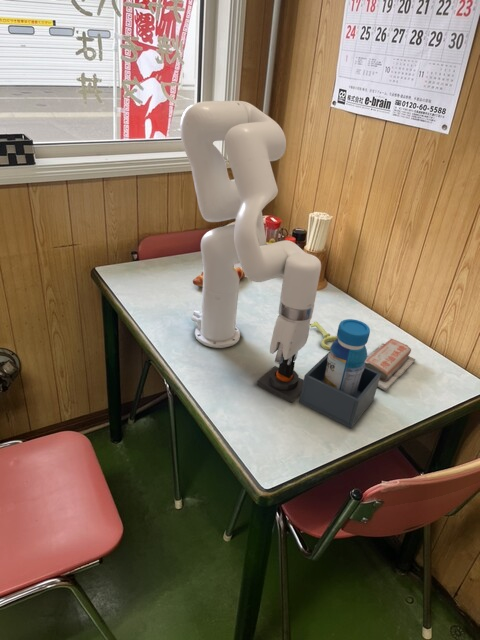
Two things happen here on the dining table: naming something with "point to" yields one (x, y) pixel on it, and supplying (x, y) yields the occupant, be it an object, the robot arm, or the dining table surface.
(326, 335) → the key
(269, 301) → the dining table surface
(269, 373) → the box
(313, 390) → the blue box
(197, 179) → the robot arm
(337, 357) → the beverage bottle
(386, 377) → the packaged product
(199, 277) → the croissant
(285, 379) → the call button
